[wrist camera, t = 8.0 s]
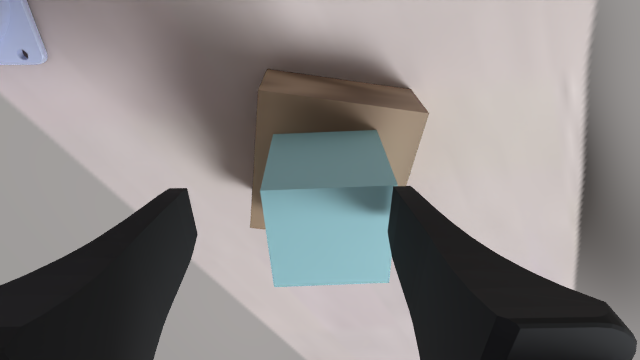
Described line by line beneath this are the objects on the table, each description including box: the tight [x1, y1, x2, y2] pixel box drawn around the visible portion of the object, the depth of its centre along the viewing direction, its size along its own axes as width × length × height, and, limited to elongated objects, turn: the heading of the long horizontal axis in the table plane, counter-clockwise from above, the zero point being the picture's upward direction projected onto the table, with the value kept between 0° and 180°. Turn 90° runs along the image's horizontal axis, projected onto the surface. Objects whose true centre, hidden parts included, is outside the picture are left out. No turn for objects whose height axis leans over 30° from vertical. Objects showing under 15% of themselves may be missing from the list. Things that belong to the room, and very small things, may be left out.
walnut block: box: [250, 69, 429, 229], centre depth 20 cm, size 8×8×4 cm
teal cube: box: [260, 130, 398, 287], centre depth 16 cm, size 5×5×5 cm
